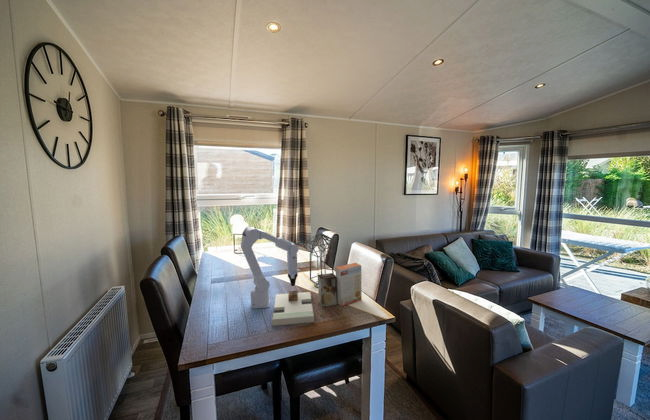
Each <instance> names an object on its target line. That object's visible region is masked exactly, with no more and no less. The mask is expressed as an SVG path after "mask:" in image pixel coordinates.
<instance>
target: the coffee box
mask: <svg viewBox="0 0 650 420" xmlns="http://www.w3.org/2000/svg"><path fill="white" fill-rule="evenodd" d="M317 281H318V282H317V283H318V285H317V287H318V303H319V305H320V306H321V307H322V308H324V307H328V306H329V307H330V306H335V305H338V303H337V281H336V274H335V273H334V274H333V273H332V272H331V273H326V274H325V273H322V274H321V273H320V274H317Z"/></svg>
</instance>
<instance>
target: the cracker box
mask: <svg viewBox="0 0 650 420" xmlns="http://www.w3.org/2000/svg"><path fill="white" fill-rule="evenodd" d="M335 276H336V281H337V305H339V306H340V307H345V306H348V305H352V304H354V303H357V302H360V301H362V298H363V297H362V265H361V264H359V263H357V262H352V263H348V264H344V265H340V266H336V267H335Z"/></svg>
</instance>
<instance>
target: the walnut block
mask: <svg viewBox="0 0 650 420" xmlns="http://www.w3.org/2000/svg"><path fill="white" fill-rule="evenodd" d="M288 293H289V295H288V296H289V301H298V293H299V292H298V290H288Z"/></svg>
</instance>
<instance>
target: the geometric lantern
mask: <svg viewBox="0 0 650 420" xmlns="http://www.w3.org/2000/svg"><path fill="white" fill-rule="evenodd" d="M311 239H312V240H311ZM336 242H337V240H336V239H333V238H332V237H330V236H329V235H326V234H324V233H322V232H318V233H317V234H316V235H314V236H312V237H310V238H309V239H307V240H305V241H304V243H305V245H307V247H308V248H309V280H310V282H311V283H313V285H314V287H315V288H318V280H317V281H314V280H313V279H314V278H318V275H316V276H312V259H313V258H312V256H314V257H316V258H317V259H316V263H317V270H319V263H320V275H321V274H323V268H322V267H324V269H326V262H325V261H326V260H325V257H326V256H327V257H328V256H330V265H331V273H333V274H334V275H335V271H334V264H333V252H332V250H331V247H332V246H333V245H334V244H335V243H336ZM321 243H322V244H321ZM323 246H324V247H323ZM327 246H328V247H327ZM320 247H321V248H322V249H323V250H321V248H320ZM315 248H318V249H319V250H317V251H316V250H315ZM328 250H329V251H328ZM317 252H320V255H318V253H317ZM325 252H327V253H329V254H325ZM313 253H315V254H316V255H315V254H313ZM322 254H323V255H322ZM322 257H323V259H322ZM319 260H320V261H319ZM322 260H323V261H322ZM323 265H324V266H323ZM326 272H327V270H324V274H327V273H326Z"/></svg>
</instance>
